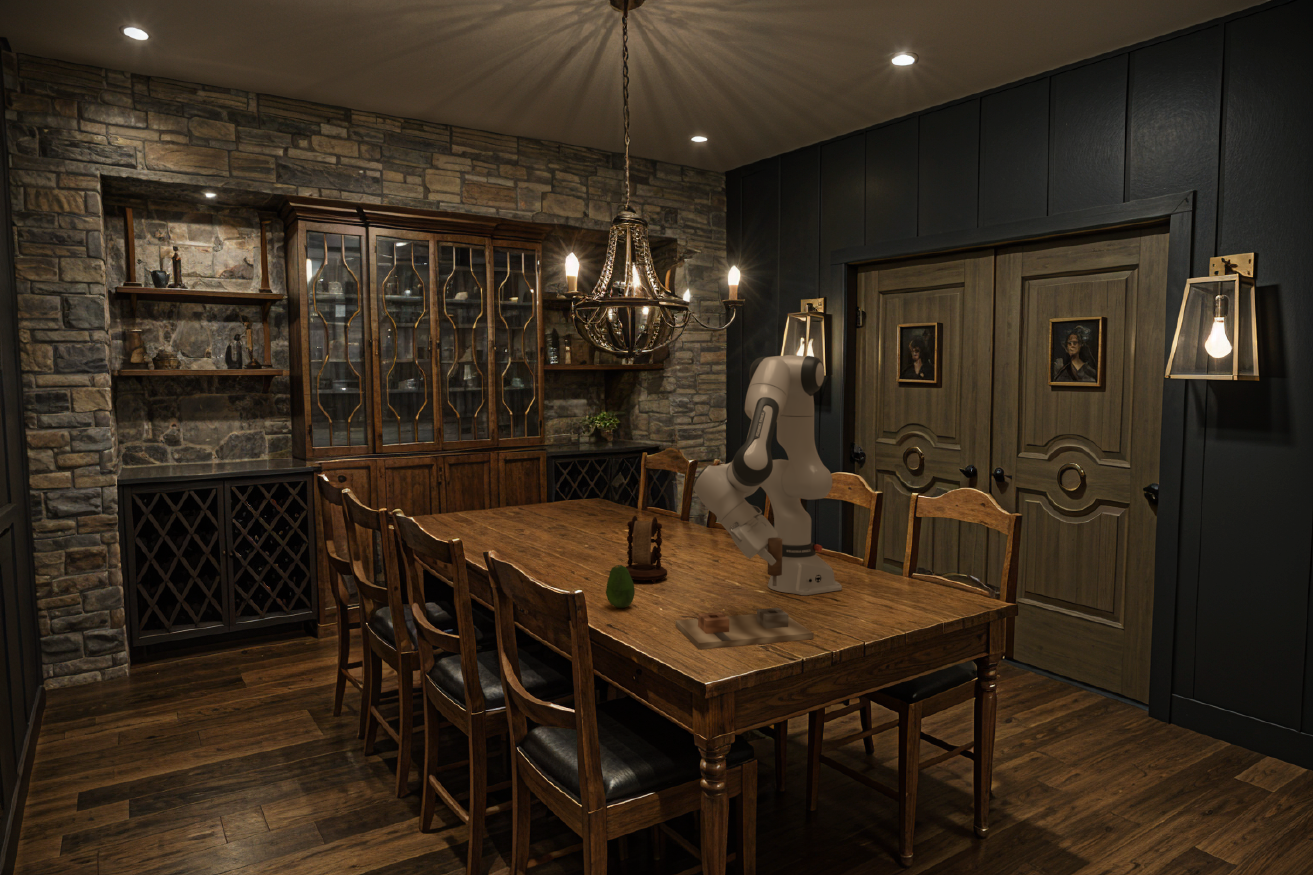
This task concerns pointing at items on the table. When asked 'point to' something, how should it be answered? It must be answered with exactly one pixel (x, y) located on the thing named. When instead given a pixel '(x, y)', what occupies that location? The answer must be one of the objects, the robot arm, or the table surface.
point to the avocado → (620, 587)
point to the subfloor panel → (742, 629)
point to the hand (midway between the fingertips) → (777, 561)
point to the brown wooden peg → (775, 551)
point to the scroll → (644, 550)
